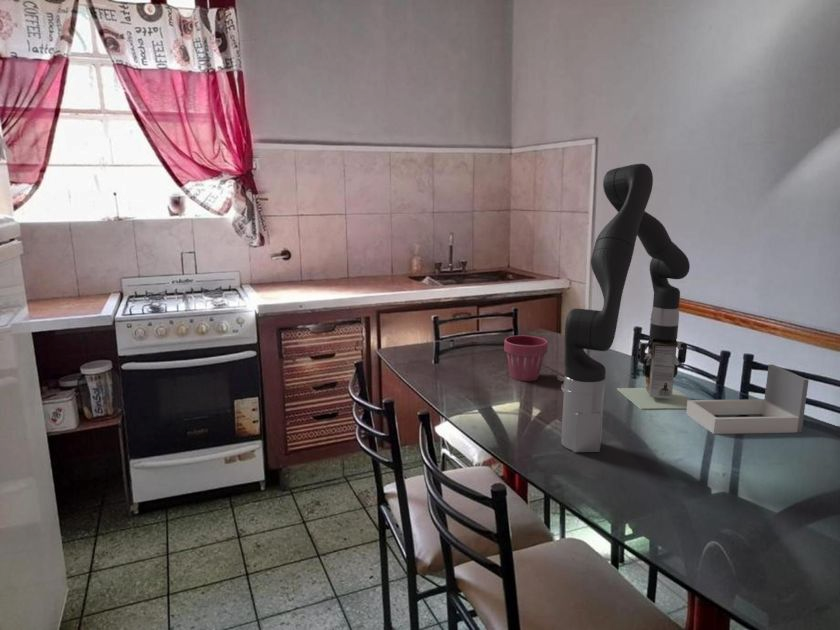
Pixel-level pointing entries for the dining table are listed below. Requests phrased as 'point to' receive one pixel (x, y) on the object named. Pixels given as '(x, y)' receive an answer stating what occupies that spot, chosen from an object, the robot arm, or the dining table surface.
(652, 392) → the coffee box
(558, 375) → the pliers
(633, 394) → the mat
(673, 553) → the dining table surface
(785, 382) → the case
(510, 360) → the plant pot
